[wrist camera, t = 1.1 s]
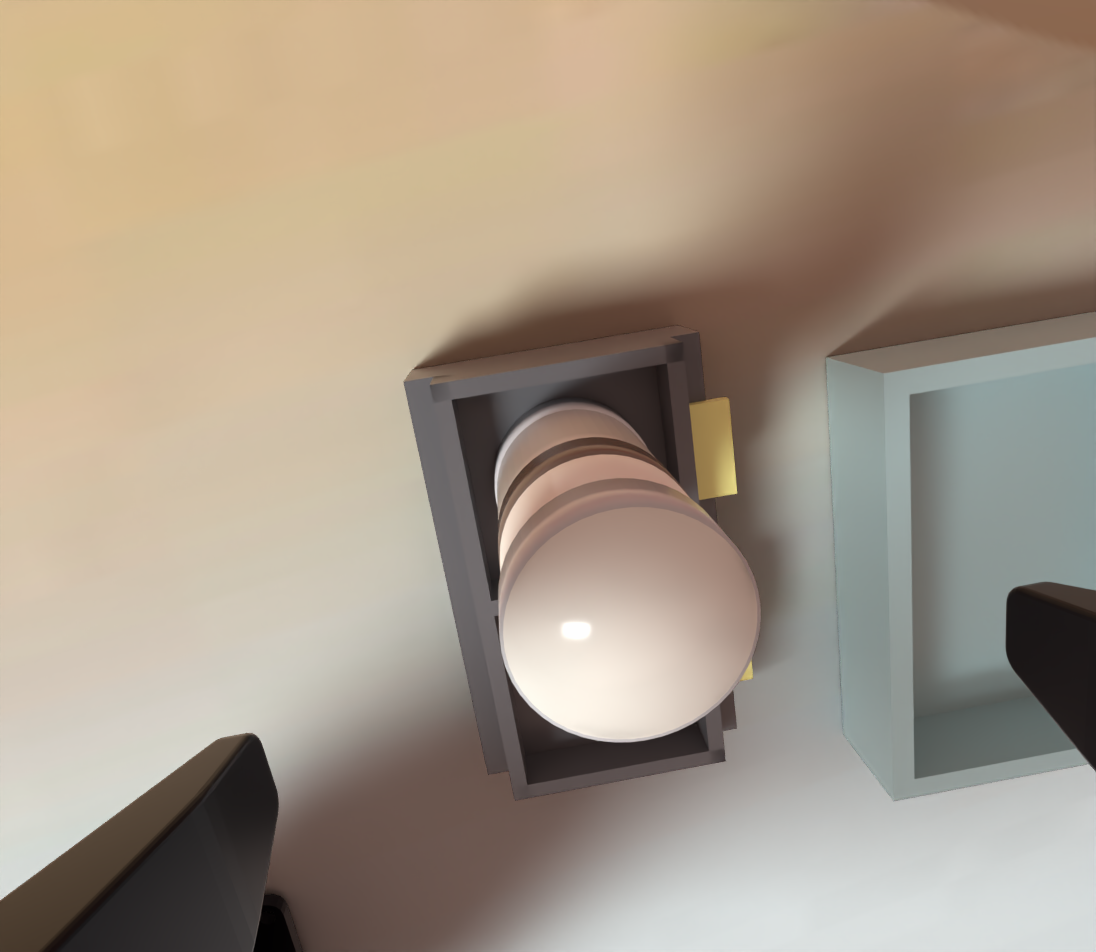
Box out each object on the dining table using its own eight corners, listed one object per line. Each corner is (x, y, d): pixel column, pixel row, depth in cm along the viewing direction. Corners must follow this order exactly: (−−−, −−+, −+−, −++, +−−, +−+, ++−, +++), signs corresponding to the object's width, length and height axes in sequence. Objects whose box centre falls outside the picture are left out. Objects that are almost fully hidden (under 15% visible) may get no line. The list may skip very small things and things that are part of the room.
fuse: (652, 529, 19) (769, 717, 11) (508, 554, 18) (523, 762, 11) (635, 385, 17) (750, 481, 10) (481, 411, 17) (476, 529, 10)
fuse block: (731, 685, 22) (770, 752, 19) (488, 730, 22) (488, 805, 19) (696, 322, 19) (736, 333, 16) (411, 369, 19) (397, 390, 16)
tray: (1122, 681, 23) (1211, 740, 21) (843, 734, 23) (893, 801, 20) (1154, 301, 20) (1266, 307, 17) (825, 357, 20) (883, 373, 17)
